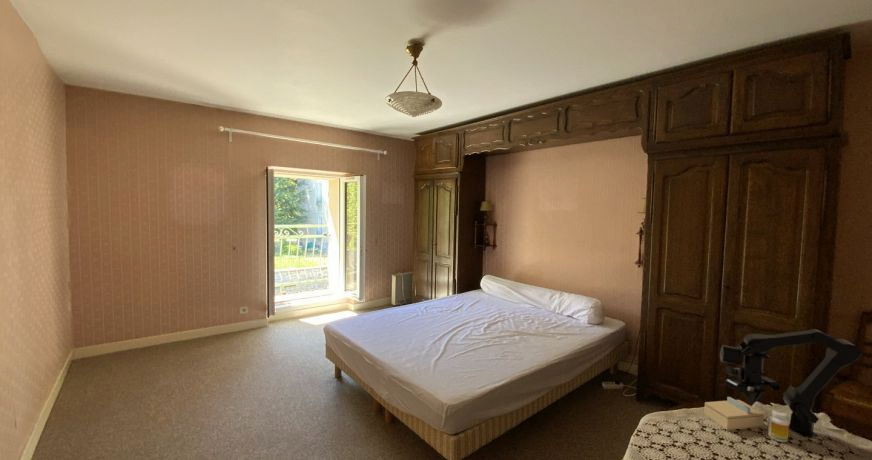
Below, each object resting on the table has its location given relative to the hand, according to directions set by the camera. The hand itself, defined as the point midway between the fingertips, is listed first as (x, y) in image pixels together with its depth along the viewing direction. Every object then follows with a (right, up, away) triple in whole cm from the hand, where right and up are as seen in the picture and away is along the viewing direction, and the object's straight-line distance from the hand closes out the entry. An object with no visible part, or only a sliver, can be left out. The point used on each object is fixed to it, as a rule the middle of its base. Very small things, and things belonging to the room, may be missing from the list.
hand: (750, 404), depth 143 cm
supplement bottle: (+1, -7, -11) cm, 13 cm away
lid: (-7, -2, -1) cm, 8 cm away
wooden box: (-7, -6, -1) cm, 10 cm away
